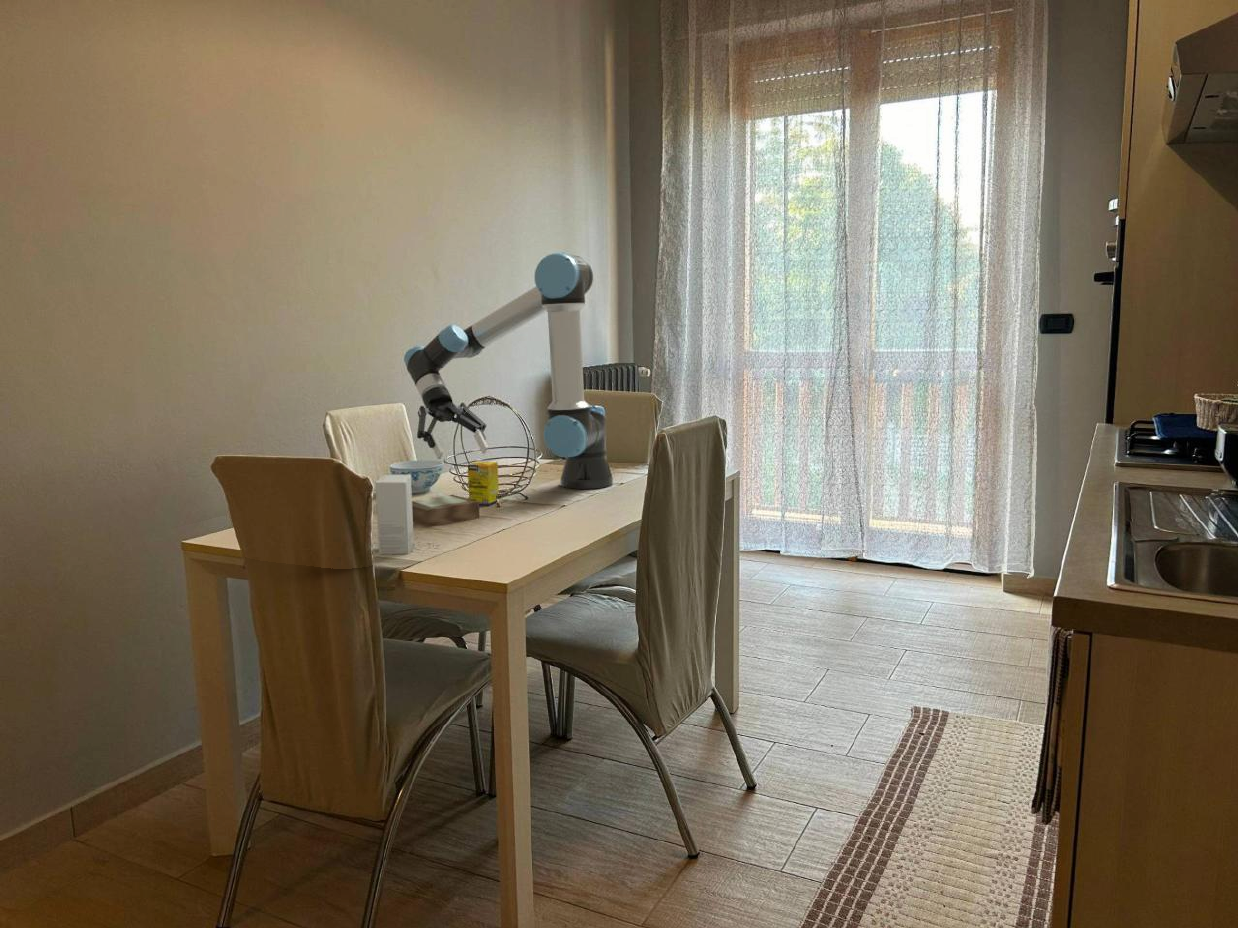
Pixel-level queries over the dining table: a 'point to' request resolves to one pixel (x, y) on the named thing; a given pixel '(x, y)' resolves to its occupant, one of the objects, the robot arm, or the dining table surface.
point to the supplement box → (483, 482)
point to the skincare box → (394, 514)
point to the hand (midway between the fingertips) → (463, 453)
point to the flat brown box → (444, 510)
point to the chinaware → (419, 473)
